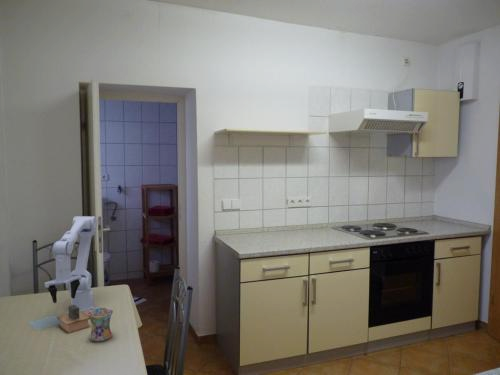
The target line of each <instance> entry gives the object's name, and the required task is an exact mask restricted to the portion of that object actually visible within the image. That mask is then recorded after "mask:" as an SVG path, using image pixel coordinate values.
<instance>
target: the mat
mask: <svg viewBox="0 0 500 375" xmlns="http://www.w3.org/2000/svg"><path fill="white" fill-rule="evenodd" d="M57 317H58V316H56V315H50V316H47V317H42V318H37V319H35V320H31V321H28V322H27V324H29V326H30V327H32V328H33V329H34V330H35V331H39V330H42V329H46V328H49V327H53V326H54V327H55V326H56V325H61V321H60V320H59V319H57Z"/></svg>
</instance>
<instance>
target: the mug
mask: <svg viewBox="0 0 500 375" xmlns="http://www.w3.org/2000/svg"><path fill="white" fill-rule="evenodd" d="M113 313H114V311H113V309H112V308H110V307H98V308H94V309H90V310H89V311H88V312H87V315H88V316H89V318H90V319H89V320H90V324H91V326H90V327H91V330H90V334H89V338H88V339H89V340H91V341H93V342H103V341H106V340H108V339H110V338H112V336H113V333H112V331H111V327H110V324H111V322H110V321H111V319H112V318H111V317H112V315H113Z"/></svg>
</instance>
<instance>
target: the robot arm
mask: <svg viewBox="0 0 500 375" xmlns="http://www.w3.org/2000/svg"><path fill="white" fill-rule="evenodd" d="M71 225H72V226H71V228H70V230H67V231H66V232H65V233H64V234H63V236H62V237H61V238H60V240H56V242H54V243H53V246H52V254H53V259H54V260H55V279H52V280H49V281H45V282H44V288H47V290H48V292H49V293H50V296H51V299H52V302H53V304H56V303H57V302H58V301H57V300H58V299H57V295H58V294H57V293H58V288H57V287H56V286H59V285H63V284H65V286H66V290H67V291H68V293H70V306H71V305H76V306H77V307H79V311H82V312H85V311H88V310H93V309H95V305H94V291H93V289H92V288H91V286H92V274H91V272H89V271H88V270H87V268H88V262H89V261H88V260H89V257H90V255H89V254H90V249H91V243H92V239H93V238H92V237H93V236H95V235H96V231H97V226H98V220H97V218H96V216H94V215H93V216H89V215H87V216H86V215H85V216H84V215H83V216H78V215H75V216H74V217H73V219H72V223H71ZM79 237H80V240H79V246H78V252H77V258H76V263H75V268H74V270H72V271H71V268H72V267H71V254H72V253H73V249H74V245H75V243H76V242H77V240H78V238H79ZM67 309H68V310H69V307H67Z"/></svg>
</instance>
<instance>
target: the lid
mask: <svg viewBox="0 0 500 375" xmlns="http://www.w3.org/2000/svg"><path fill="white" fill-rule="evenodd" d="M68 308H69V309H68V313H67V314H63V315H59V316H56V317H57V319H59V320H60V321H61V322H62V323H64V324H65V325H66V326H67V325H71V324H74V323H78V322H81V321H85V320H88V321H89V320H90V318H89V316H88V313H85V311H79V307H77V306H76V305H71V304H70V305H68Z"/></svg>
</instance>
